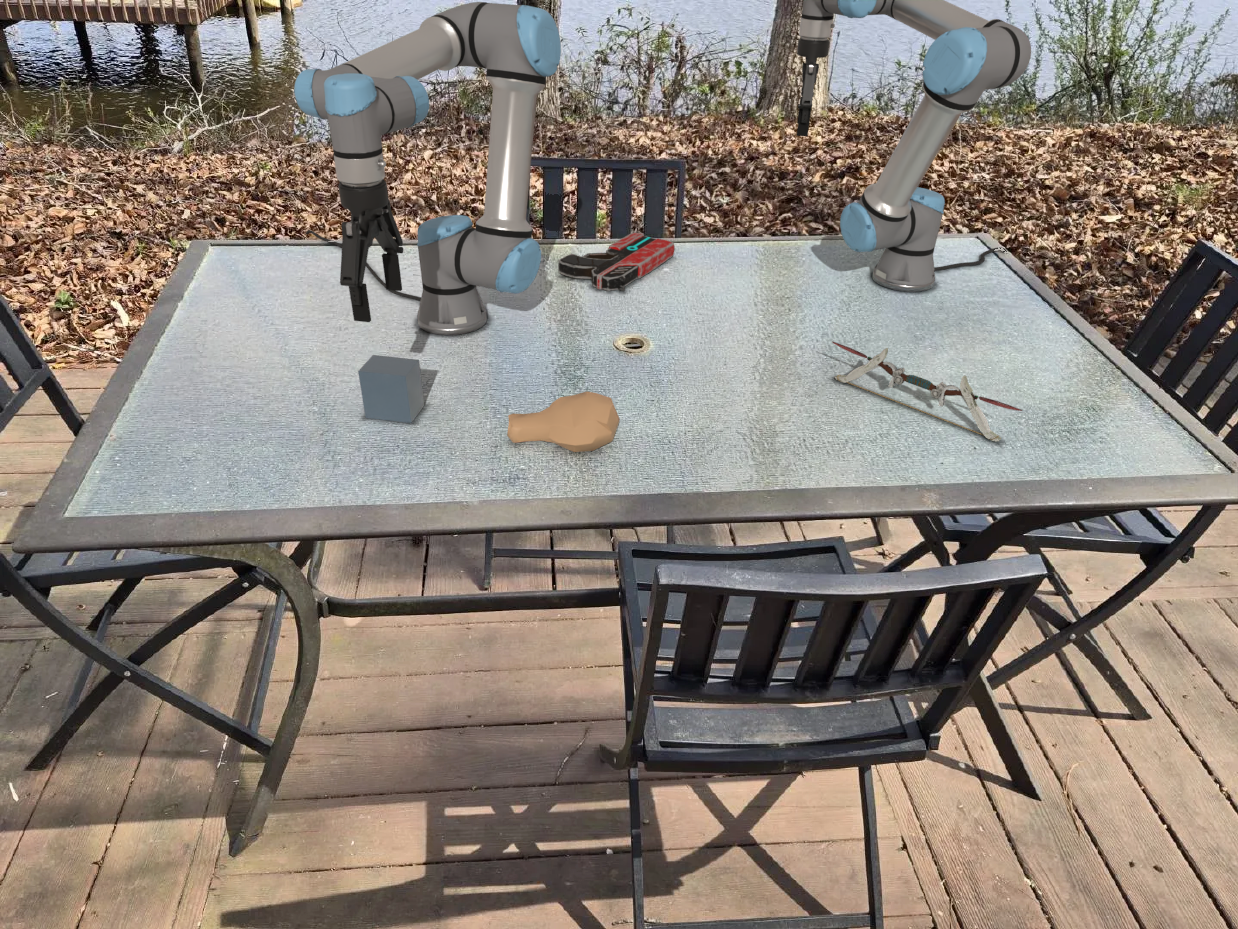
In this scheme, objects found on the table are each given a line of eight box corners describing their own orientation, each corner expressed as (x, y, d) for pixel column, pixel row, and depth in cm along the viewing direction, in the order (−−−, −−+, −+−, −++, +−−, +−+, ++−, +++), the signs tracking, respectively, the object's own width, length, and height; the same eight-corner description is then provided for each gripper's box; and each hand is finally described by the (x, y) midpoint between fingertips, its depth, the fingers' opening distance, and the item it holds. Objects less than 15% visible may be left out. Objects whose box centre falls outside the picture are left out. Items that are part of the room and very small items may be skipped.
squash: (622, 459, 152) (616, 419, 146) (509, 467, 154) (498, 429, 148) (622, 418, 160) (617, 379, 154) (514, 426, 162) (505, 388, 155)
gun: (551, 260, 217) (618, 279, 209) (616, 225, 239) (679, 240, 231) (552, 278, 220) (618, 297, 212) (615, 241, 242) (677, 256, 234)
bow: (1013, 444, 159) (1029, 396, 153) (1009, 448, 158) (1025, 400, 152) (828, 373, 180) (836, 328, 175) (824, 376, 179) (831, 331, 174)
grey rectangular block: (411, 423, 160) (405, 376, 155) (365, 417, 161) (357, 371, 156) (424, 405, 166) (419, 359, 160) (379, 400, 167) (372, 354, 161)
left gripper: (350, 205, 129) (370, 337, 141) (413, 161, 149) (425, 279, 161) (303, 201, 130) (326, 332, 142) (371, 158, 151) (386, 276, 162)
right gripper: (831, 46, 201) (817, 142, 213) (829, 31, 222) (816, 119, 234) (798, 44, 202) (786, 140, 214) (799, 30, 223) (788, 117, 235)
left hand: (379, 304), depth 152 cm, fingers open, 13 cm apart
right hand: (802, 129), depth 224 cm, fingers open, 13 cm apart
